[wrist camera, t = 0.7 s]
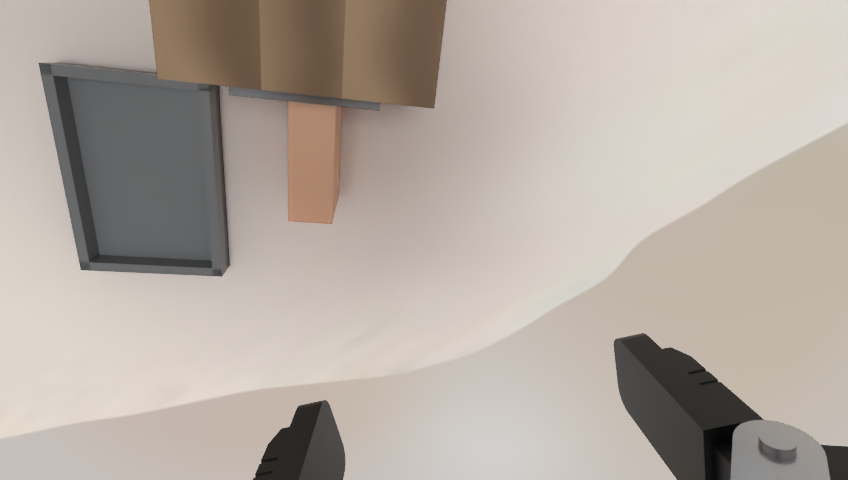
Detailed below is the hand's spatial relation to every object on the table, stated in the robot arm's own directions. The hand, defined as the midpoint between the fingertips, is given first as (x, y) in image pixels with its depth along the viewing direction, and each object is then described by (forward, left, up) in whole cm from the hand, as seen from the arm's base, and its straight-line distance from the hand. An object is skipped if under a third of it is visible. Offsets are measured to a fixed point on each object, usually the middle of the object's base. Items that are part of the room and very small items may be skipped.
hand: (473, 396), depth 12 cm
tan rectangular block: (-6, +4, -21) cm, 23 cm away
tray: (-17, -1, -21) cm, 27 cm away
